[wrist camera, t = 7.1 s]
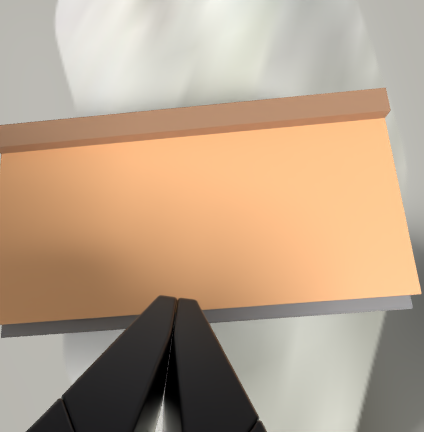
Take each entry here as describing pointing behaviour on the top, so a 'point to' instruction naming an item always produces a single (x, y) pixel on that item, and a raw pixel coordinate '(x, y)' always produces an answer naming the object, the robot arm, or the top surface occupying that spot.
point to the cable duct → (216, 315)
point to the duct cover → (202, 208)
